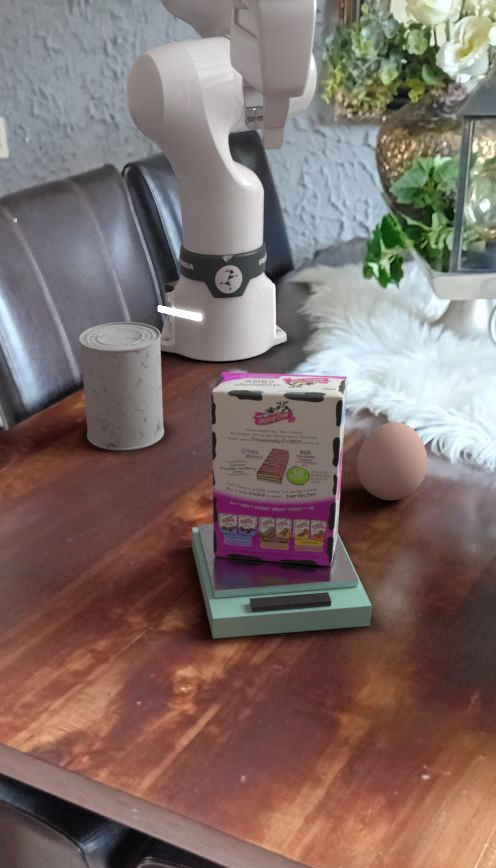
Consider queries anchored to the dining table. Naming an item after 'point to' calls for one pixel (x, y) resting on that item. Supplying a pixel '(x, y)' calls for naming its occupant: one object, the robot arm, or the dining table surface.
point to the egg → (392, 461)
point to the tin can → (122, 385)
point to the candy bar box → (277, 466)
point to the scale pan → (272, 572)
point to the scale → (281, 607)
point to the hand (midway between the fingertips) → (262, 137)
